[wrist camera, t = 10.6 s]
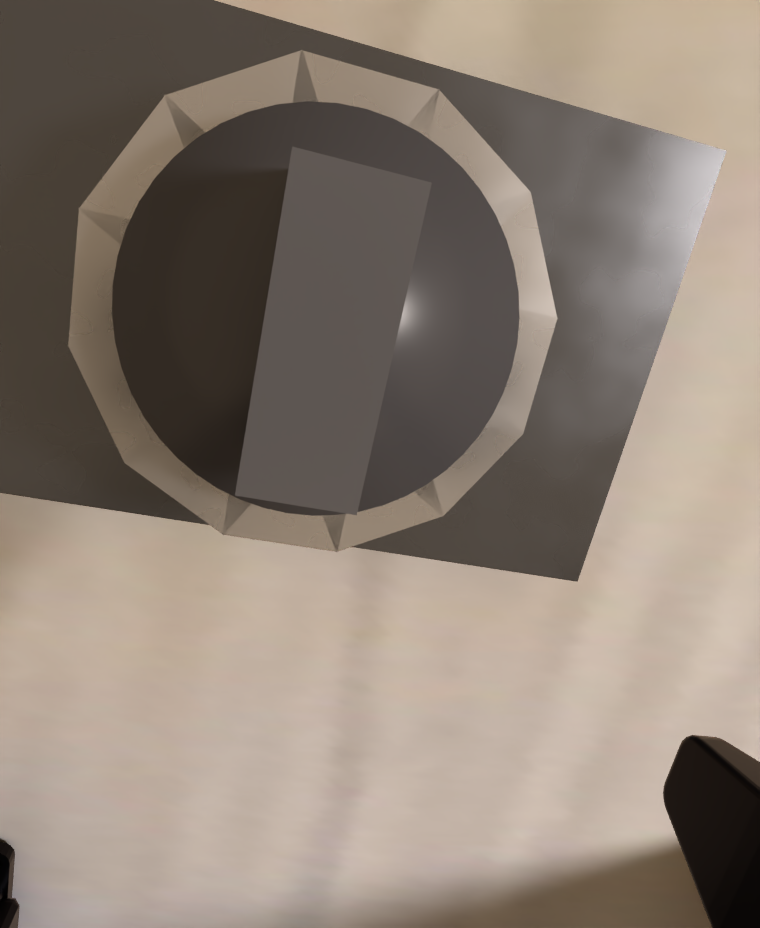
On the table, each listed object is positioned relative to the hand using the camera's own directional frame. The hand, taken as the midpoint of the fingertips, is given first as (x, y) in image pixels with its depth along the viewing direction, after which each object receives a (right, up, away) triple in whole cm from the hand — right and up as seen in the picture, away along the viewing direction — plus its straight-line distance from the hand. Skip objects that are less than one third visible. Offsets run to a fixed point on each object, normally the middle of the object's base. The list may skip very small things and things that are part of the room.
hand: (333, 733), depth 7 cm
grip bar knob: (-1, +7, +8) cm, 11 cm away
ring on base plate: (-1, +7, +10) cm, 13 cm away
